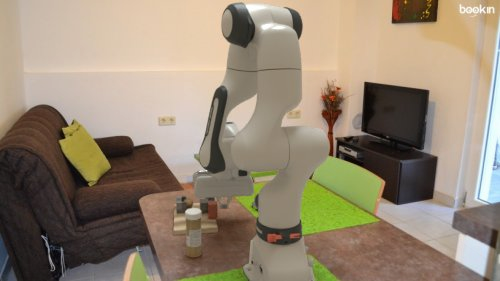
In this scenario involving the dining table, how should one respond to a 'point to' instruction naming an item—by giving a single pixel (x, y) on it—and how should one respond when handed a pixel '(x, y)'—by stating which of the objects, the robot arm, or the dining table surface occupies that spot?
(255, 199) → the ceramic mug
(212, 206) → the lever
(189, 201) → the brown ball
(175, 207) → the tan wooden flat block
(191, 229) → the sprinkles bottle
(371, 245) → the dining table surface
